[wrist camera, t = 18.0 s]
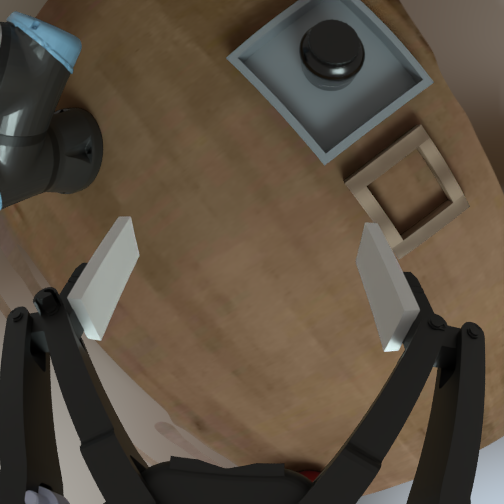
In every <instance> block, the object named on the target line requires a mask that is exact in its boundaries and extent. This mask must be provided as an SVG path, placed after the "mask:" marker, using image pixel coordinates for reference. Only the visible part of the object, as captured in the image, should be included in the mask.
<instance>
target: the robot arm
mask: <svg viewBox="0 0 504 504" xmlns="http://www.w3.org/2000/svg"><path fill="white" fill-rule="evenodd" d="M80 51H81V41H80V40H79V38H77V37H76V36H74V35H72V34H70V33H68V32H66V31H64V30H62V29H60V28H58V27H55V26H53V25H51V24H48V23H46V22H44V21H41V20H39V19H36V18H34V17H31V16H29V15H26V14H23V13H20V12H17V11H15V12H13V13H12V14H11V15H10V16H9V17H8V18H7V22H0V210H1V209H3V208H6V207H8V206H10V205H13V204H15V203H18V202H20V201H23V200H25V199H28V198H30V197H33V196H35V195H38V194H41V193H44V192H58V193H61V194H71V193H75V192H78V191H81V190H83V189H85V188H86V187H88V186H89V185H90V184H91V183H92V182H93V180H94V179H95V178H96V176H97V174H98V172H99V169H100V166H101V162H102V155H103V142H102V136H101V132H100V129H99V126H98V124H97V122H96V121H95V119H94V118H93V117H92V115H91V114H90V113H88V112H87V111H85V110H83V109H80V108H64V109H60V110H58V111H56V112H54V111H55V109H56V106H57V104H58V101H59V99H60V96H61V94H62V92H63V89H64V87H65V85H66V82H67V80H68V78H69V76H70V74H72V73H73V67H74V65H75V63H76V60H77V58H78V56H79V54H80ZM138 257H139V251H138V247H137V243H136V238H135V234H134V230H133V225H132V220H131V217H118V219H117V220H116V222H115V223H114V225H113V226H112V227H111V229H110V230H109V232H108V233H107V235H106V236H105V238H104V239H103V241H102V242H101V244H100V245H99V247H98V248H97V250H96V251H95V253H94V254H93V256H92V257H91V259H90V261H89V262H88V263H82V264H81V265H80V266H78V267H77V268H76V269H75V271H74V272H73V274H72V275H71V277H70V278H69V280H68V283H66V285H65V286H64V288H63V290H62V291H61V293H60V295H59V294H58V292H57V290H56V289H55V288H52V287H48V288H45V289H42V290H41V291H39V292H38V293H37V294H36V295H35V297H34V299H33V303H34V305H35V307H36V309H37V311H38V312H37V313H31V314H30V313H29V312H28V310H27V309H26V308H25V307H18V308H15V309H14V310H12V311H11V312H10V314H9V315H8V318H7V323H6V329H5V335H4V343H3V351H2V359H1V369H0V465H1V469H0V504H70V503H69V502H68V501H67V499H66V498H65V497H64V495H63V482H62V476H61V470H60V465H59V459H58V453H57V446H56V439H55V431H54V422H53V412H52V399H51V381H50V357H51V360H52V364H53V366H54V370H55V373H56V376H57V380H58V383H59V386H60V389H61V392H62V395H63V398H64V400H65V403H66V405H67V409H68V411H69V414H70V416H71V419H72V421H73V424H74V426H75V429H76V431H77V434H78V436H79V438H80V441H81V446H80V451H81V453H82V456H83V458H84V460H85V462H86V464H87V466H88V468H89V470H90V472H91V474H92V476H93V478H94V480H95V482H96V484H97V486H98V488H99V490H100V492H101V493H102V495H103V497H104V499H105V500H106V502H105V503H103V504H356V503H357V501H358V499H359V498H360V497H361V496H362V495H363V493H364V492H365V490H366V489H367V488H368V486H369V485H370V483H371V482H372V481H373V479H374V478H375V476H376V475H377V473H378V472H379V470H380V468H381V463H382V461H383V459H384V457H385V456H386V454H387V452H388V451H389V449H390V448H391V446H392V444H393V443H394V441H395V439H396V438H397V436H398V434H399V433H400V431H401V429H402V427H403V426H404V424H405V422H406V420H407V418H408V416H409V415H410V413H411V411H412V409H413V407H414V405H415V403H416V401H417V399H418V397H419V395H420V393H421V391H422V389H423V387H424V385H425V383H426V381H427V378H428V376H429V374H430V372H431V370H432V367H438V369H437V377H436V384H435V390H434V396H433V402H432V408H431V413H430V418H429V423H428V428H427V432H426V437H425V441H424V445H423V449H422V453H421V457H420V460H419V464H418V467H417V471H416V474H415V478H414V481H413V484H412V487H411V490H410V493H409V497H408V500H407V504H471V500H470V496H471V492H472V488H473V483H474V478H475V473H476V467H477V462H478V456H479V449H480V442H481V434H482V424H483V413H484V397H485V337H484V332H483V331H482V329H481V328H480V327H479V326H478V325H477V324H475V323H473V322H466V323H465V324H464V325H463V326H462V327H461V329H460V328H456V327H451V326H448V325H447V323H446V321H445V320H444V319H443V318H442V317H441V316H439V315H437V314H434V312H433V310H432V308H431V306H430V303H429V301H428V299H427V297H426V295H425V294H424V291H423V289H422V288H421V285H420V283H419V281H418V279H417V278H416V277H415V276H414V275H413V274H412V273H411V272H402V270H401V268H400V266H399V263H398V261H397V259H396V257H395V255H394V253H393V252H392V250H391V248H390V246H389V244H388V242H387V240H386V238H385V236H384V234H383V232H382V230H381V229H380V227H379V225H378V223H365V225H364V230H363V234H362V238H361V242H360V246H359V250H358V254H357V258H356V264H357V267H358V270H359V273H360V276H361V279H362V282H363V285H364V288H365V291H366V294H367V297H368V300H369V303H370V306H371V310H372V313H373V316H374V319H375V323H376V326H377V329H378V333H379V336H380V340H381V343H382V347H383V350H384V352H386V351H398V350H399V348H400V347H401V345H402V343H403V344H404V348H405V351H404V352H403V354H402V356H401V357H400V359H399V361H398V362H397V365H396V366H395V368H394V370H393V372H392V373H391V375H390V377H389V378H388V380H387V382H386V383H385V385H384V386H383V388H382V390H381V391H380V393H379V394H378V396H377V398H376V399H375V401H374V402H373V404H372V405H371V407H370V408H369V410H368V411H367V413H366V414H365V416H364V417H363V418H362V420H361V421H360V423H359V424H358V426H357V427H356V428H355V430H354V431H353V433H352V434H351V435H350V437H349V438H348V439H347V441H346V442H345V443H344V445H343V446H342V447H341V449H340V450H339V451H338V453H337V454H336V455H335V456H334V458H333V459H332V460H331V461H330V463H329V464H328V465H327V466H326V467H325V468H324V470H323V471H322V472H321V473H320V474H319V475H318V477H317V478H316V479H315V480H314V481H313V482H312V481H311V480H309V479H308V478H307V477H305V476H304V475H302V474H300V473H298V472H295V471H292V470H289V469H285V468H284V463H281V464H263V463H256V464H251V465H245V466H240V467H234V468H222V467H219V466H216V465H213V464H210V463H207V462H204V461H201V460H198V459H189V458H181V457H174V456H171V459H170V461H167V462H162V463H159V464H156V465H153V466H151V467H148V465H147V464H146V462H145V461H144V460H143V458H142V457H141V456H140V454H139V453H138V451H137V450H136V448H135V447H134V445H133V443H132V441H131V440H130V438H129V436H128V434H127V433H126V431H125V430H124V427H123V425H122V424H121V422H120V420H119V418H118V416H117V414H116V412H115V410H114V408H113V406H112V405H111V403H110V400H109V398H108V396H107V394H106V393H105V390H104V388H103V386H102V384H101V382H100V379H99V377H98V375H97V373H96V371H95V368H94V366H93V364H92V361H91V359H90V357H89V354H88V352H87V349H86V347H85V344H84V342H83V340H82V338H81V336H82V334H83V331H84V332H85V334H86V336H87V338H88V339H95V340H102V337H103V335H104V332H105V330H106V328H107V325H108V323H109V321H110V318H111V316H112V314H113V311H114V309H115V307H116V305H117V302H118V300H119V298H120V296H121V293H122V291H123V289H124V287H125V285H126V283H127V280H128V278H129V276H130V274H131V272H132V270H133V268H134V266H135V264H136V262H137V259H138Z"/></svg>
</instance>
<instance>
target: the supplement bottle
mask: <svg viewBox="0 0 504 504" xmlns="http://www.w3.org/2000/svg"><path fill="white" fill-rule="evenodd" d="M299 54H300V60H301V65H302V70H303V73H304V75H305V77H306V78H307V80H308V81H309V82H310V83H311V84H312V85H314V86H315V87H317V88H319V89H321V90H325V91H337V90H341V89H343V88H345V87H347V86H348V85H349V84H350V83H351V82H352V81H353V79H354V78H355V77H356V75H357V74H358V73H359V71H360V70H361V68H362V66H363V64H364V61H365V49H364V46H363V43H362V41H361V40H360V38H359V37H358V35H357V33H356V32H355V30H354V29H353V28H352V27H351V26H350V25H348V24H347V23H344V22H343V21H339V20H333V19H331V20H325V21H321V22H318V23H317V25H314V26H313V27H311V28H310V29H309V30H307V31H306V32H305V34H304V35H303V37H302V38H301V41H300V45H299Z"/></svg>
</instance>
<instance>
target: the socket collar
mask: <svg viewBox="0 0 504 504" xmlns="http://www.w3.org/2000/svg"><path fill="white" fill-rule="evenodd" d="M416 148H417V150H418V151H419V153H420V154H421V156H422V157H423V159H424V160H425V162H426V163H427V165H428V166H429V168H430V170H431V171H432V173H433V174H434V176H435V178H436V179H437V181H438V183H439V184H440V186H441V188H442V189H443V191H444V193H445V195H446V196H447V198H448V200H447V201H445V202H444V203H443V204H442V205H440V206H439V207H438V208H436V209H435V210H434V211H433V212H431V213H430V214H429V215H427V216H426V217H425V218H423V219H422V220H421V221H419V222H418V223H417V224H415V225H414V226H413V227H411V228H410V229H409V230H407V231H406V232H404V233H403V234H402V235H400V234H399V233H398V231H397V230H396V228H395V227H394V225H393V224H392V222H391V221H390V219H389V218H388V216H387V215H386V214H385V212H384V211H383V209H382V208H381V206H380V205H379V203H378V202H377V201H376V199H375V198H374V196H373V195H372V194H371V192H370V191H369V190H368V188H367V187H366V186H368V185H369V184H370V183H372V182H373V181H374V180H375V179H377V178H378V177H379V176H381V175H382V174H383V173H385V172H386V171H387V170H389V169H390V168H391V167H393V166H394V165H395V164H397V163H398V162H399V161H400V160H402V159H403V158H404V157H406V156H407V155H408V154H410V153H411V152H412V151H413V150H415V149H416ZM344 183H345V184H346V186H347V187H348V188H349V190H350V191H351V192H352V194H353V195H354V196H355V198H356V199H357V200H358V202H359V203H360V204H361V206H362V207H363V208H364V210H365V211H366V213H367V214H368V215H369V217H370V218H371V220H372V221H373V222H374V223H378V225H379V227H380V229H381V230H382V232H383V234H384V236H385V238H386V240H387V242H388V244H389V246H390V247H391V249H392V250H393V252H394V253H395V255H396V256H397V258H398V259H401V258H402V257H404V256H405V255H406V254H408V253H409V252H411V251H412V250H413V249H415V248H416V247H418V246H419V245H420V244H422V243H423V242H424V241H426V240H427V239H428V238H430V237H431V236H432V235H434V234H435V233H436V232H438V231H439V230H440V229H442V228H443V227H444V226H446V225H447V224H448V223H450V222H451V221H452V220H453V219H455V218H456V217H457V216H458V215H460V214H461V213H462V212H464V211H465V210H466V209H467V208H469V207H470V206H469V204H468V202H467V200H466V198H465V196H464V194H463V192H462V190H461V188H460V187H459V185H458V183H457V181H456V179H455V178H454V176H453V174H452V172H451V171H450V169H449V167H448V166H447V164H446V162H445V161H444V159H443V157H442V156H441V154H440V153H439V151H438V149H437V148H436V146H435V145H434V143H433V142H432V140H431V139H430V137H429V136H428V134H427V133H426V131H425V130H424V128H423V127H422V125H416V126H415V127H413V128H412V129H411V130H409V131H408V132H407V133H405V134H404V135H403V136H402V137H400V138H399V139H398V140H396V141H395V142H394V143H392V144H391V145H390V146H388V147H387V148H386V149H385V150H383V151H382V152H381V153H379V154H378V155H377V156H375V157H374V158H373V159H371V160H370V161H369V162H368V163H366V164H365V165H364V166H362V167H361V168H360V169H358V170H357V171H356V172H354V173H353V174H352V175H350V176H349V177H348V178H347V179H345V180H344Z"/></svg>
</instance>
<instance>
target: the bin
mask: <svg viewBox="0 0 504 504" xmlns="http://www.w3.org/2000/svg"><path fill="white" fill-rule="evenodd" d="M331 19H333V20H339V21H343V22H344V23H347V24H348V25H350V26H351V27H352V28H353V29H354V30H355V32H356V33H357V35H358V37H359V38H360V40H361V41H362V43H363V46H364V49H365V61H364V64H363V66H362V68H361V70H360V71H359V73H358V74H357V75H356V77H355V78H354V79H353V81H352V82H351V83H350V84H349V85H348V86H347V87H345V88H343V89H341V90H337V91H325V90H321V89H319V88H317V87H315V86H314V85H312V84H311V83H310V82H309V81H308V80H307V78H306V77H305V75H304V73H303V70H302V65H301V60H300V54H299V45H300V41H301V38H302V37H303V35H304V34H305V32H306V31H307V30H309V29H310V28H311V27H313V26H314V25H317V23H318V22H321V21H325V20H331ZM226 58H227V59H228V60H229V61H230V62H231V63H232V64H233V65H234V66H235V67H236V68H237V69H238V70H239V71H240V72H241V73H242V74H243V75H244V76H245V77H246V78H247V79H248V80H249V81H250V82H251V83H252V84H253V85H254V86H255V87H256V88H257V89H258V90H259V92H260V93H261V94H262V95H263V96H264V97H265V98H266V99H267V100H268V101H269V102H270V103H271V104H272V105H273V106H274V107H275V109H276V110H277V111H278V112H279V113H280V114H281V115H282V116H283V117H284V118H285V120H286V121H287V122H288V123H289V124H290V125H291V126H292V127H293V129H294V130H295V131H296V132H297V133H298V134H299V136H300V137H301V138H302V139H303V140H304V141H305V143H306V144H307V145H308V146H309V147H310V148H311V150H312V151H313V152H314V153H315V154H316V156H317V157H318V158H319V159H320V160H321V162H322V163H323V164H324V165H326V164H327V163H328V162H330V161H331V160H332V159H333V158H335V157H336V156H337V155H339V154H340V153H341V152H342V151H344V150H345V149H346V148H348V147H349V146H350V145H351V144H353V143H354V142H355V141H357V140H358V139H359V138H361V137H362V136H363V135H364V134H366V133H367V132H368V131H370V130H371V129H372V128H374V127H375V126H376V125H378V124H379V123H380V122H381V121H383V120H384V119H385V118H387V117H388V116H389V115H391V114H392V113H393V112H395V111H396V110H397V109H399V108H400V107H401V106H403V105H404V104H405V103H407V102H408V101H409V100H411V99H412V98H413V97H415V96H416V95H417V94H419V93H420V92H421V91H423V90H424V89H425V88H427V87H428V86H430V85H431V84H432V83H434V82H433V81H432V79H431V78H430V77H429V75H428V74H427V73H426V71H425V70H424V69H423V68H422V66H421V65H420V64H419V63H418V61H417V60H416V59H415V58H414V57H413V55H412V54H411V53H410V52H409V51H408V49H407V48H406V47H405V46H404V45H403V44H402V43H401V41H400V40H399V39H398V38H397V37H396V36H395V35H394V34H393V33H392V31H391V30H390V29H389V28H388V27H387V26H386V25H385V24H384V23H383V22H382V21H381V20H380V19H379V18H378V17H377V16H376V15H375V14H374V13H373V12H372V11H371V10H370V9H369V8H368V7H367V6H366V5H365V4H364V3H363V2H361V1H360V0H298V1H297V2H295V3H294V4H293V5H291V6H290V7H288V8H287V9H286V10H284V11H283V12H282V13H280V14H279V15H278V16H276V17H275V18H274V19H272V20H271V21H270V22H268V23H267V24H266V25H265V26H263V27H262V28H261V29H260V30H258V31H257V32H256V33H255V34H253V35H252V36H251V37H250V38H249V39H247V40H246V41H245V42H244V43H243V44H241V45H240V46H239V47H238V48H237V49H236V50H234V51H233V52H232V53H231V54H230V55H229V56H228V57H226Z"/></svg>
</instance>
